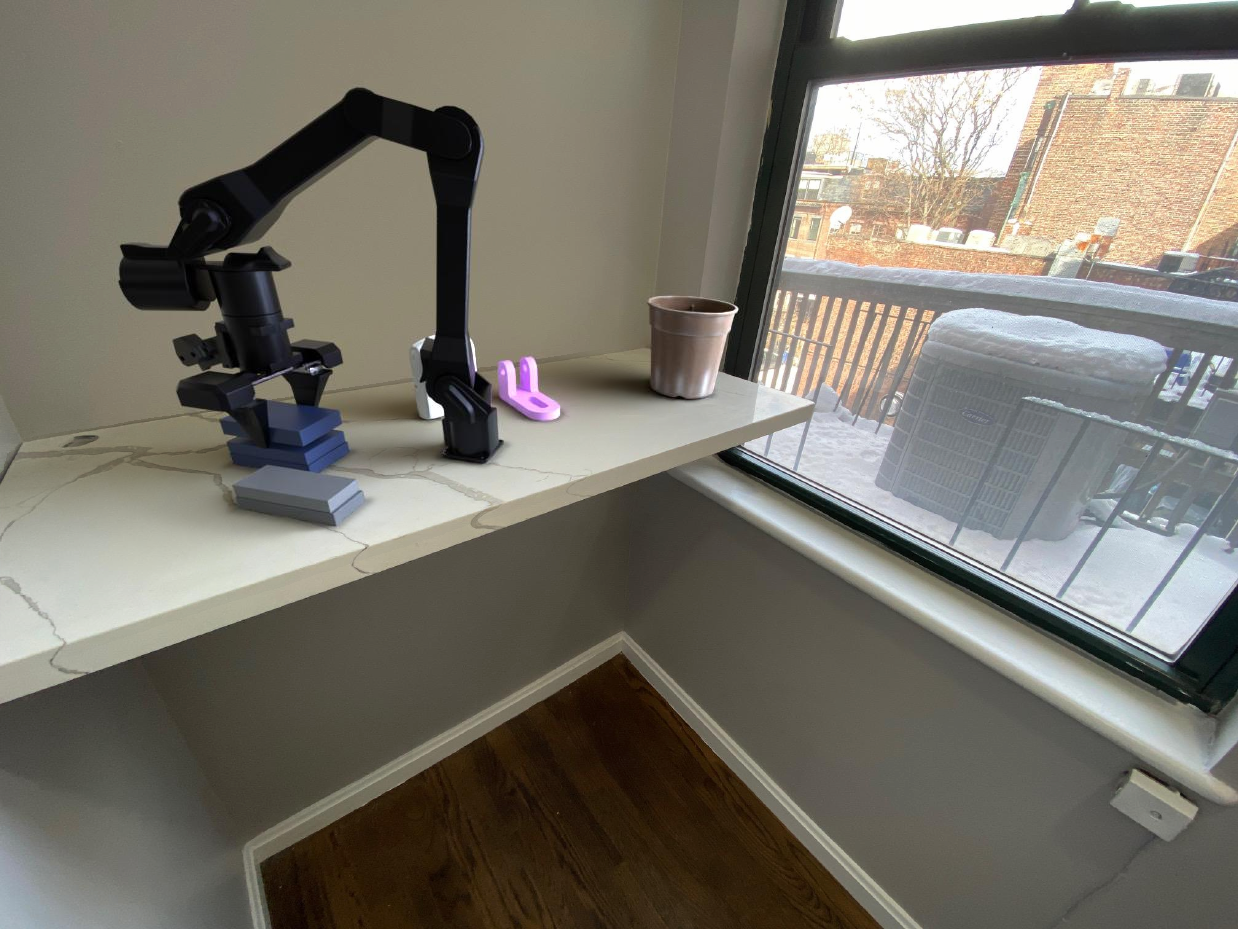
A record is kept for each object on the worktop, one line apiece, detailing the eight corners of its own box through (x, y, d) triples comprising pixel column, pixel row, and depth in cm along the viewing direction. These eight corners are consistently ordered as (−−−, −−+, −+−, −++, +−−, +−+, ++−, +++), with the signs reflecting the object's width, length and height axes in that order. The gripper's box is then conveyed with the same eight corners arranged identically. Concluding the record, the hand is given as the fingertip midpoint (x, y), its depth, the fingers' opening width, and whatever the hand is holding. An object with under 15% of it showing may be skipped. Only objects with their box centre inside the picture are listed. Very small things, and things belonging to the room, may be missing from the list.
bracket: (499, 397, 89) (497, 358, 86) (527, 391, 92) (526, 354, 89) (536, 423, 80) (535, 381, 77) (566, 416, 84) (566, 375, 80)
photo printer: (428, 422, 78) (417, 343, 72) (413, 414, 81) (401, 337, 75) (483, 405, 85) (478, 332, 79) (468, 398, 88) (461, 326, 82)
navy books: (350, 452, 69) (345, 430, 67) (311, 477, 62) (305, 454, 61) (277, 440, 70) (271, 419, 69) (233, 464, 64) (225, 441, 63)
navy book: (342, 424, 67) (339, 409, 66) (303, 446, 61) (299, 431, 60) (269, 413, 68) (265, 399, 67) (224, 434, 62) (218, 419, 61)
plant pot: (675, 369, 109) (684, 291, 101) (740, 391, 99) (755, 306, 91) (623, 385, 98) (628, 299, 90) (689, 411, 88) (702, 317, 81)
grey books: (365, 501, 59) (361, 479, 57) (336, 525, 54) (330, 502, 53) (274, 486, 60) (267, 463, 59) (239, 508, 56) (230, 485, 55)
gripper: (257, 291, 67) (287, 402, 74) (104, 322, 51) (163, 460, 58) (333, 299, 65) (356, 412, 73) (200, 333, 49) (247, 474, 56)
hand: (287, 435), depth 65 cm, fingers closed on navy book, 7 cm apart
